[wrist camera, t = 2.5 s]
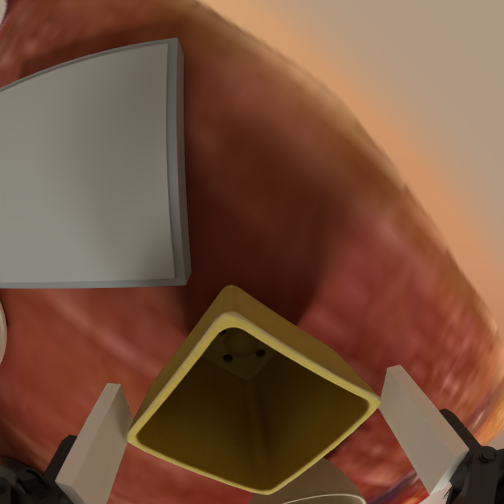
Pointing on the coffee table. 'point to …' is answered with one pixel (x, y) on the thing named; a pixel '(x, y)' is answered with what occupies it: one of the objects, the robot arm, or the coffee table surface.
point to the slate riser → (96, 172)
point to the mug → (2, 332)
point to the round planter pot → (315, 488)
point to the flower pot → (250, 399)
